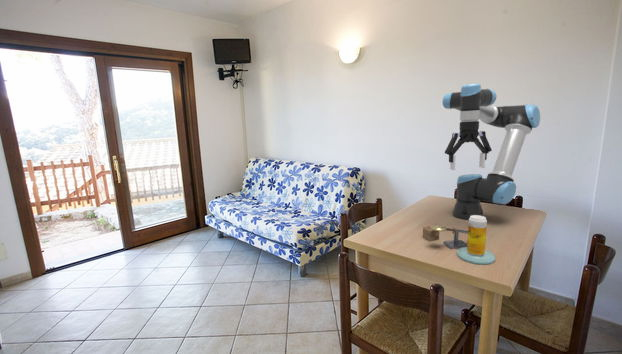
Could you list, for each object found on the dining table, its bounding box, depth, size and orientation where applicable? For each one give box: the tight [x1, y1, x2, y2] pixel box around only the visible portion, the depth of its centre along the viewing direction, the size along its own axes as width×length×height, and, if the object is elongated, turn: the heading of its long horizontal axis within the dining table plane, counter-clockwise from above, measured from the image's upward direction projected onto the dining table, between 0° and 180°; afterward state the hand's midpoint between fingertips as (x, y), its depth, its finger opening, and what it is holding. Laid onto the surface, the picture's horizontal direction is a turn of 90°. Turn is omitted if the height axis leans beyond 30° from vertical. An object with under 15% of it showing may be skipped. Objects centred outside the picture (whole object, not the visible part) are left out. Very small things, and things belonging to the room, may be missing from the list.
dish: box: [456, 247, 496, 265], centre depth 115 cm, size 13×13×1 cm
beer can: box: [466, 215, 488, 256], centre depth 114 cm, size 6×6×15 cm
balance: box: [430, 224, 468, 250], centre depth 126 cm, size 22×7×9 cm, turn 92°
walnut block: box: [422, 225, 440, 242], centre depth 134 cm, size 5×5×5 cm
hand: (467, 168), depth 132 cm, fingers open, 13 cm apart
